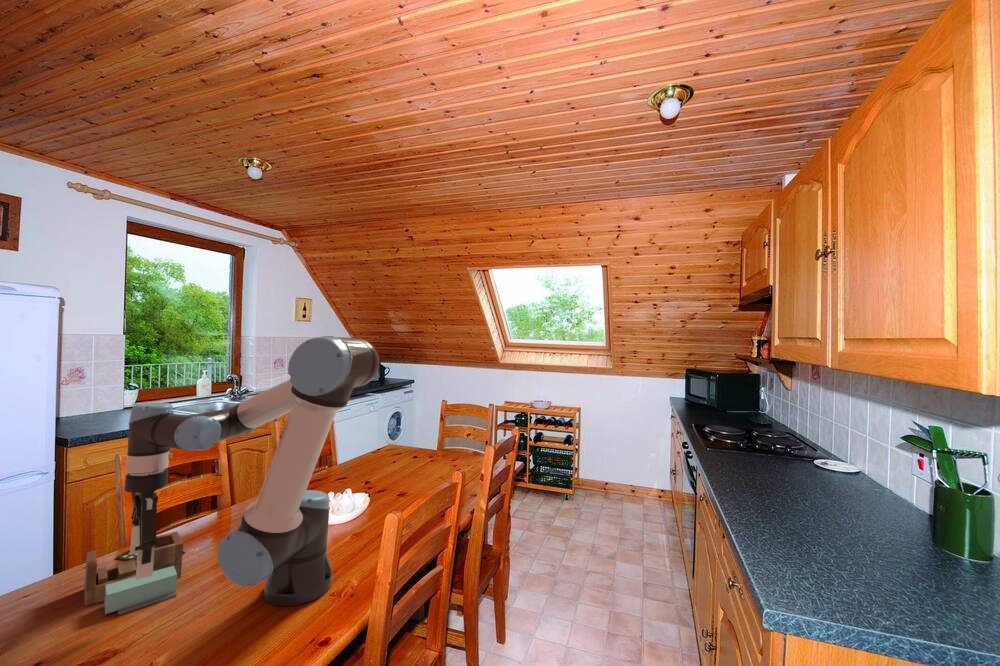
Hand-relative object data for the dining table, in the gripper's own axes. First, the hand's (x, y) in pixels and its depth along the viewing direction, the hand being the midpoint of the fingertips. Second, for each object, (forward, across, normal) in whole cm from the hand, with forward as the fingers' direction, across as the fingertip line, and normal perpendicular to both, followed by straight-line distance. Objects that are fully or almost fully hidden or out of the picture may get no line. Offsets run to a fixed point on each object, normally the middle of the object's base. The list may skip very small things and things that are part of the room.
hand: (140, 564), depth 93 cm
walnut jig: (+8, +9, 0) cm, 12 cm away
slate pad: (+8, 0, -2) cm, 8 cm away
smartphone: (+9, +22, -4) cm, 25 cm away
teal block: (+8, 0, 0) cm, 8 cm away
